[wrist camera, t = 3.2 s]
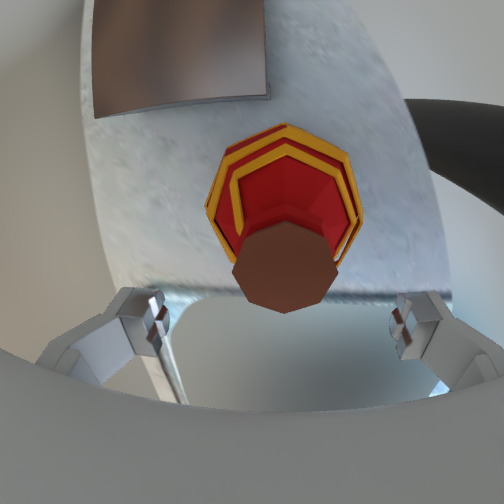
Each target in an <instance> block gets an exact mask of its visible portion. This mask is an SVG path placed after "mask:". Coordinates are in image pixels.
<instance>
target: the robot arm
mask: <svg viewBox="0 0 504 504" xmlns="http://www.w3.org/2000/svg"><path fill="white" fill-rule="evenodd" d="M164 301H165V297H164V294H163V292H162V291H161V290H157V289H146V288H134V287H123V288H121V289H120V291H119V292H118V293H117V295H116V296H115V298H114V299H113V300H112V302H111V303H110V305H109V306H108V307H107V309H106V310H105V312H104V313H103V314H98V315H96V316H94V317H93V318H91V319H89V320H87V321H85V322H84V323H82V324H80V325H78V326H76V327H75V328H73V329H71V330H69V331H68V332H66V333H64V334H62V335H61V336H59V337H57V338H55V339H53V340H52V341H50V343H49V344H48V345H47V347H46V348H45V350H44V351H43V353H42V354H41V356H40V357H39V358H38V360H37V361H36V363H35V364H33V363H31V362H29V361H27V360H24V359H22V358H20V357H18V356H15V355H13V354H11V353H9V352H7V351H5V350H2V349H1V348H0V504H504V349H503V348H502V347H501V346H499V345H498V344H496V343H495V342H493V341H492V340H490V339H489V338H487V337H486V336H484V335H483V334H481V333H480V332H478V331H477V330H475V329H474V328H472V327H471V326H469V325H467V324H466V323H465V322H463V321H461V320H460V319H458V318H456V319H455V318H454V317H453V315H452V313H451V312H450V310H449V309H448V307H447V306H446V304H445V302H444V301H443V299H442V298H441V296H440V295H439V293H438V292H437V291H435V290H433V291H423V292H408V293H399V294H398V296H397V298H396V301H395V303H396V305H397V308H396V309H395V310H394V311H393V312H392V314H391V317H390V323H389V329H390V334H391V336H392V338H393V339H394V340H396V341H397V344H396V350H397V353H398V355H399V358H400V361H403V360H413V359H421V361H422V362H423V363H424V364H425V365H426V366H428V368H430V369H431V371H432V372H433V373H434V374H436V375H437V377H439V378H440V380H441V381H442V382H443V383H444V384H445V385H446V386H447V387H448V388H449V389H450V390H451V391H450V392H449V393H445V394H441V395H437V396H433V397H428V398H424V399H419V400H414V401H409V402H403V403H397V404H391V405H384V406H378V407H369V408H361V409H351V410H339V411H323V412H254V411H238V410H226V409H215V408H206V407H198V406H191V405H184V404H177V403H171V402H166V401H160V400H154V399H149V398H145V397H140V396H136V395H131V394H127V393H123V392H119V391H115V390H111V389H107V388H103V386H102V384H103V383H104V382H105V381H106V380H108V379H109V378H110V377H111V376H112V375H113V374H115V373H116V372H117V371H118V370H119V369H121V368H122V367H123V366H124V365H125V364H126V363H127V362H129V361H130V360H131V359H132V358H134V357H135V355H142V356H149V357H157V356H158V353H159V351H160V349H161V346H162V344H163V343H162V340H161V338H162V337H164V336H165V335H166V334H167V332H168V329H169V323H170V317H169V312H168V309H167V308H166V307H165V306H164V305H163V303H164Z"/></svg>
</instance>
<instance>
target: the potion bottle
mask: <svg viewBox="0 0 504 504" xmlns="http://www.w3.org/2000/svg"><path fill="white" fill-rule="evenodd" d="M205 208H206V211H207V212H206V215H207V217H208V219H209V221H210V223H211V225H212V227H213V229H214V231H215V233H216V235H217V237H218V239H219V241H220V243H221V245H222V246H223V248H224V250H225V252H226V254H227V256H228V258H229V260H230V262H231V263H234V264H235V265H234V268H233V270H232V274H233V276H234V277H235V279H236V281H237V282H238V284H239V286H240V288H241V289H242V291H243V293H244V294H245V296H246V298H247V300H248V301H249V302H250V303H253V304H256V305H259V306H262V307H265V308H268V309H271V310H274V311H277V312H280V313H283V314H285V313H288V312H291V311H295V310H298V309H302V308H305V307H308V306H311V305H314V304H318V303H320V302H321V300H322V299H323V297H324V295H325V294H326V292H327V291H328V289H329V288H330V286H331V284H332V283H333V281H334V280H335V278H336V276H337V275H338V271H337V268H336V267H338V266H339V265H340V263H341V261H342V259H343V258H344V256H345V254H346V253H347V251H348V249H349V247H350V246H351V244H352V242H353V240H354V238H355V237H356V235H357V233H358V231H359V229H360V228H361V226H362V224H363V209H362V205H361V201H360V197H359V193H358V189H357V185H356V182H355V178H354V175H353V171H352V168H351V164H350V161H349V158H348V154H347V153H346V152H344V151H342V150H340V149H339V148H338V147H336V146H334V145H332V144H330V143H328V142H326V141H324V140H322V139H320V138H318V137H316V136H314V135H312V134H310V133H308V132H306V131H305V130H303V129H301V128H298V127H295V126H292V125H290V124H287V123H285V122H284V123H281V124H279V125H276V126H274V127H271V128H269V129H267V130H264V131H262V132H260V133H257V134H255V135H253V136H251V137H248V138H246V139H244V140H242V141H240V142H237V143H235V144H233V145H231V146H229V147H227V149H226V151H225V154H224V156H223V159H222V161H221V164H220V166H219V169H218V172H217V174H216V177H215V179H214V182H213V184H212V187H211V190H210V192H209V195H208V198H207V200H206V203H205ZM358 215H359V216H358ZM357 216H358V218H357ZM356 218H357V219H356ZM353 227H354V228H353ZM352 229H353V230H352ZM351 231H352V232H351ZM350 233H351V235H350V237H349V239H348V241H347V243H346V246H345V248H344V250H343V252H342V254H341V256H340V259H339V260H338V261H335V262H334V260H335V258H336V257H337V255H338V253H339V252H340V250H341V248H342V247H343V245H344V243H345V241H346V240H347V238H348V236H349V234H350Z"/></svg>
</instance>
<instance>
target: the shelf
mask: <svg viewBox="0 0 504 504" xmlns="http://www.w3.org/2000/svg"><path fill="white" fill-rule="evenodd" d="M92 90H93V106H94V118H95V119H99V118H105V117H111V116H118V115H125V114H133V113H140V112H145V111H151V110H157V109H163V108H170V107H177V106H184V105H193V104H202V103H213V102H226V101H243V100H270V99H271V97H270V85H269V83H268V80H267V56H266V32H265V10H264V0H94V10H93V25H92Z"/></svg>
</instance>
